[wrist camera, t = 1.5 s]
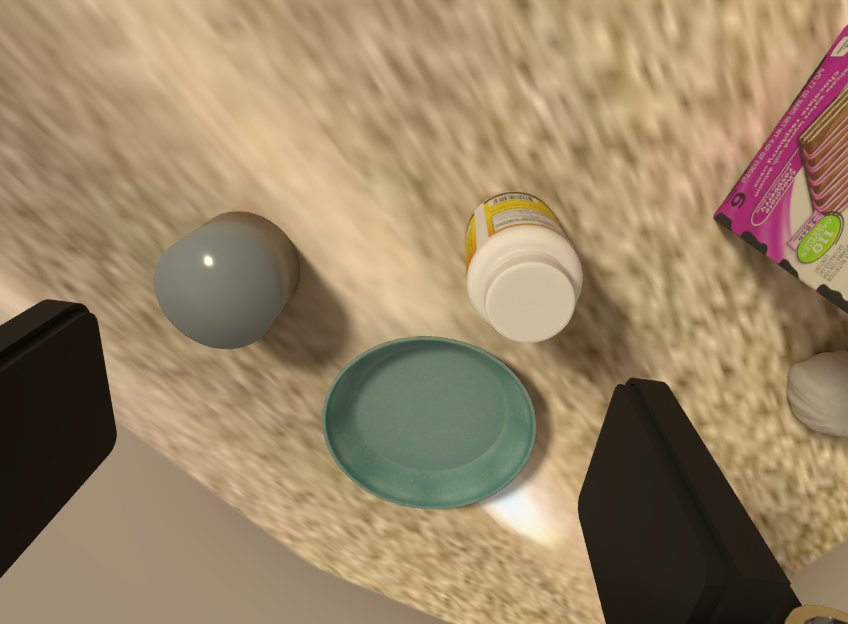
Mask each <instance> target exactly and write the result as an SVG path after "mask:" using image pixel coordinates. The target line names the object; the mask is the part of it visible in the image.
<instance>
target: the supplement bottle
mask: <svg viewBox="0 0 848 624" xmlns="http://www.w3.org/2000/svg"><path fill="white" fill-rule="evenodd" d="M465 249H466V277H467V278H466V279H467V291H468V296H469V299H470V302H471V304H472V306H473V308H474V309H475V311H476V312H477V314H478V315H479V316H480V317H481V318H482V319H483V320H484V321H485V322H486V323H488V324H489V325H491V326H492V327H494V329H495V330H496V331H497V332H499V333H500V334H501V335H502V336H504V337H506V338H508V339H510V340H513V341H516V342H521V343H536V342H541V341H544V340H547V339H549V338H551V337H553V336H555V335H556V334H558V333H559V332H560V331H561V330H562V329H563V328H564V327H565V326H566V325H567V324H568V322H569V321H570V319H571V317H572V315H573V312H574V309H575V305H576V303H577V301H578V299H579V296H580V293H581V289H582V283H583V272H582V266H581V263H580V260H579V257H578V255H577V253H576V251H575V249H574V248H573V246H572V245H571V243H570V241H569V239H568V238H567V236H566V234H565V233H564V231H563V229H562V228H561V226H560V224H559V223H558V221H557V219H556V218H555V216H554V214H553V212H552V211H551V209H550V208H549V207H548V206H547V205H546V204H545V203H544V202H543V201H542V200H540V199H539V198H537V197H535V196H533V195H531V194H528V193H524V192H518V191H509V192H503V193H500V194H497V195H494V196H492V197H490V198H488V199H487V200H485V201H484V202H483V203H482V204H480V205H479V206H478V208H477V209H476V210H475V211H474V213H473V214H472V216H471V218H470V220H469V222H468V225H467V229H466V236H465Z"/></svg>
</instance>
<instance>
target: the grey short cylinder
mask: <svg viewBox="0 0 848 624" xmlns="http://www.w3.org/2000/svg"><path fill="white" fill-rule="evenodd" d="M299 277H300V264H299V259H298V255H297V252H296V250H295V248H294V246H293V244H292V242H291V241H290V239H289V238H288V237H287V235H286V234H285V233H284V232H283V231H282V230H281V229H280V228H279V227H278V226H276V225H275V224H274V223H272V222H271V221H269V220H267V219H265V218H264V217H261V216H259V215H256V214H252V213H249V212H227V213H223V214H220V215H218V216H216V217H214V218H212V219H211V220H209V221H208V222H206V223H205V224H203V225H202V226H200V227H199V228H197V229H196V230H194V231H193V232H191V233H190V234H188V235H187V236H185V237H184V238H182V239H181V240H179V241H178V242H176V243H175V244H173V245H172V246H170V247H169V248H168V249H167V250H166V251H165V252H164V253H163V255H162V256H161V257H160V259H159V261H158V263H157V266H156V269H155V274H154V289H155V294H156V298H157V301H158V303H159V306H160V307H161V309H162V311H163V313H164V314H165V316H166V317H167V319H168V320H169V321H170V322H171V323H172V324H173V326H175V327H176V328H177V329H178V330H179V331H180V332H181V333H183V334H184V335H185V336H187V337H189V338H190V339H192V340H194V341H196V342H198V343H200V344H203V345H206V346H209V347H213V348H219V349H236V348H241V347H245V346H247V345H250V344H252V343H254V342H256V341H257V340H259V339H260V338H261V337H262V336H263V335H264V334H265V333H266V332H267V331H268V329H269V328H270V326H271V325H272V324H273V322H274V321H275V319H276V318H277V316H278V315H279V314H280V312H281V311H282V309H283V308H284V306H285V305H286V304H287V302H288V301H289V299H290V298H291V296H292V295H293V294H294V292H295V290H296V288H297V286H298V282H299Z"/></svg>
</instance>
